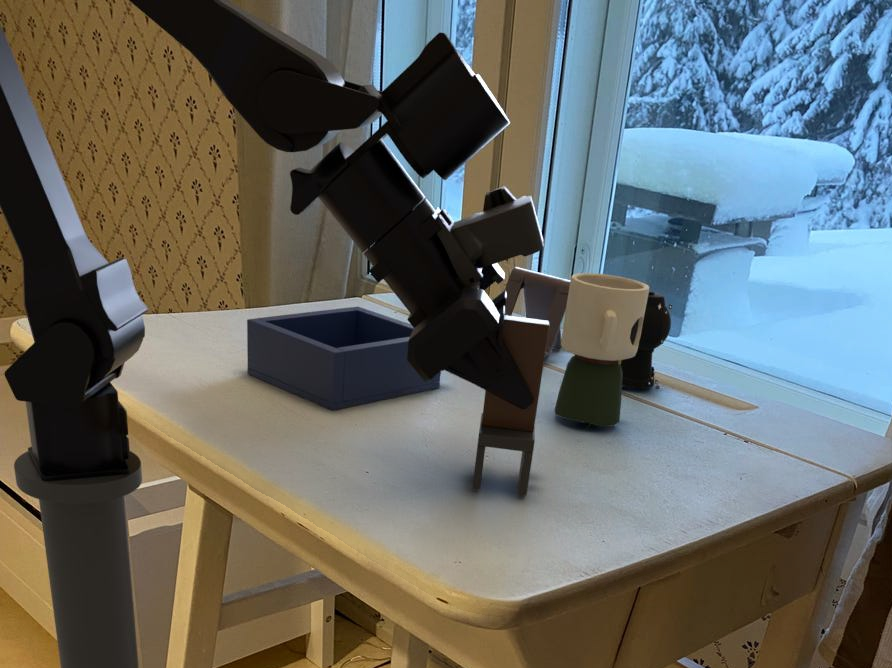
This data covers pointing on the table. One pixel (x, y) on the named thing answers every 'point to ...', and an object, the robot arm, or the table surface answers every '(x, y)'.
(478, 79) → the robot arm
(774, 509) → the table surface
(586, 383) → the character mug
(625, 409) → the table surface
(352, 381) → the box
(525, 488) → the tall backed stool
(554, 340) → the tablet stand
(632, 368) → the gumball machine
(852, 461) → the table surface
